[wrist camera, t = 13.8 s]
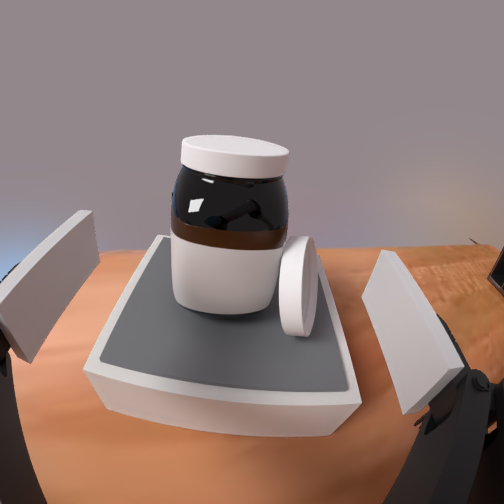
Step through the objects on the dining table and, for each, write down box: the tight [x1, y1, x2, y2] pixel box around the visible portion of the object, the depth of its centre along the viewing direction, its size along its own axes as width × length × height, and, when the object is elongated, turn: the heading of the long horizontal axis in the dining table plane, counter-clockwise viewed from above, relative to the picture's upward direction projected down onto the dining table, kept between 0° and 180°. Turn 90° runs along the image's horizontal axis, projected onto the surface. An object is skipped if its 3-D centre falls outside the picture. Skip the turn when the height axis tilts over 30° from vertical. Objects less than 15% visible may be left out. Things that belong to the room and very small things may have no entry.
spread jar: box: [171, 135, 318, 337], centre depth 19 cm, size 12×11×12 cm
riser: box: [83, 235, 362, 437], centre depth 23 cm, size 18×18×6 cm
